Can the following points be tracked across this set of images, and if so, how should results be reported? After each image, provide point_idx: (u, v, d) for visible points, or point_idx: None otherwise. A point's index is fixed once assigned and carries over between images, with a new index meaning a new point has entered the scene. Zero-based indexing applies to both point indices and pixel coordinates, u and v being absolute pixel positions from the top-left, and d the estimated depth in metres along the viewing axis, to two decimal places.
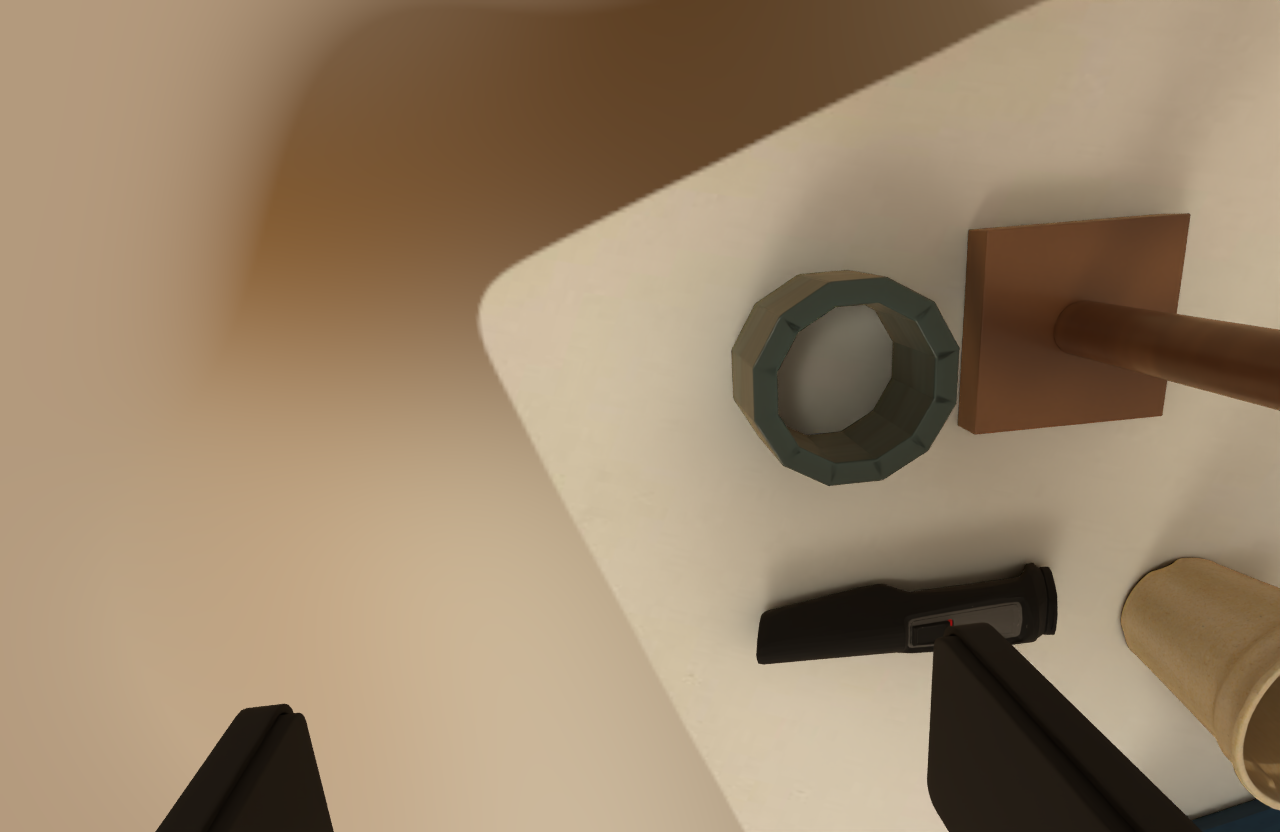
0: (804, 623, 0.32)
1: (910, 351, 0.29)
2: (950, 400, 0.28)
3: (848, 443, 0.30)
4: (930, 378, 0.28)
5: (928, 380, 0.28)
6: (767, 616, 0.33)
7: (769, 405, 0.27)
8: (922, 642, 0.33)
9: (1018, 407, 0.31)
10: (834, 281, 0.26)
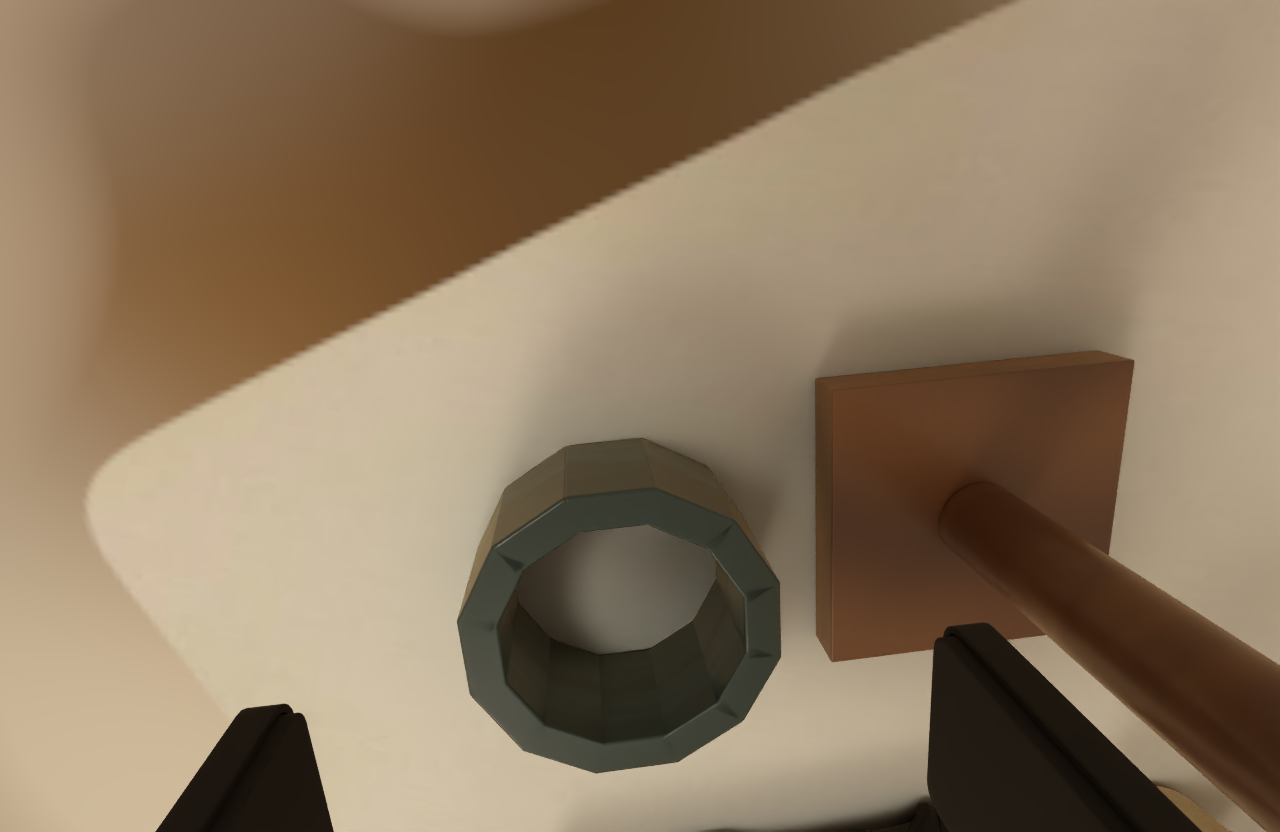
0: None
1: None
2: (772, 654, 0.19)
3: (645, 685, 0.21)
4: (741, 621, 0.19)
5: (740, 620, 0.19)
6: None
7: (490, 672, 0.18)
8: None
9: (892, 626, 0.22)
10: (573, 496, 0.17)
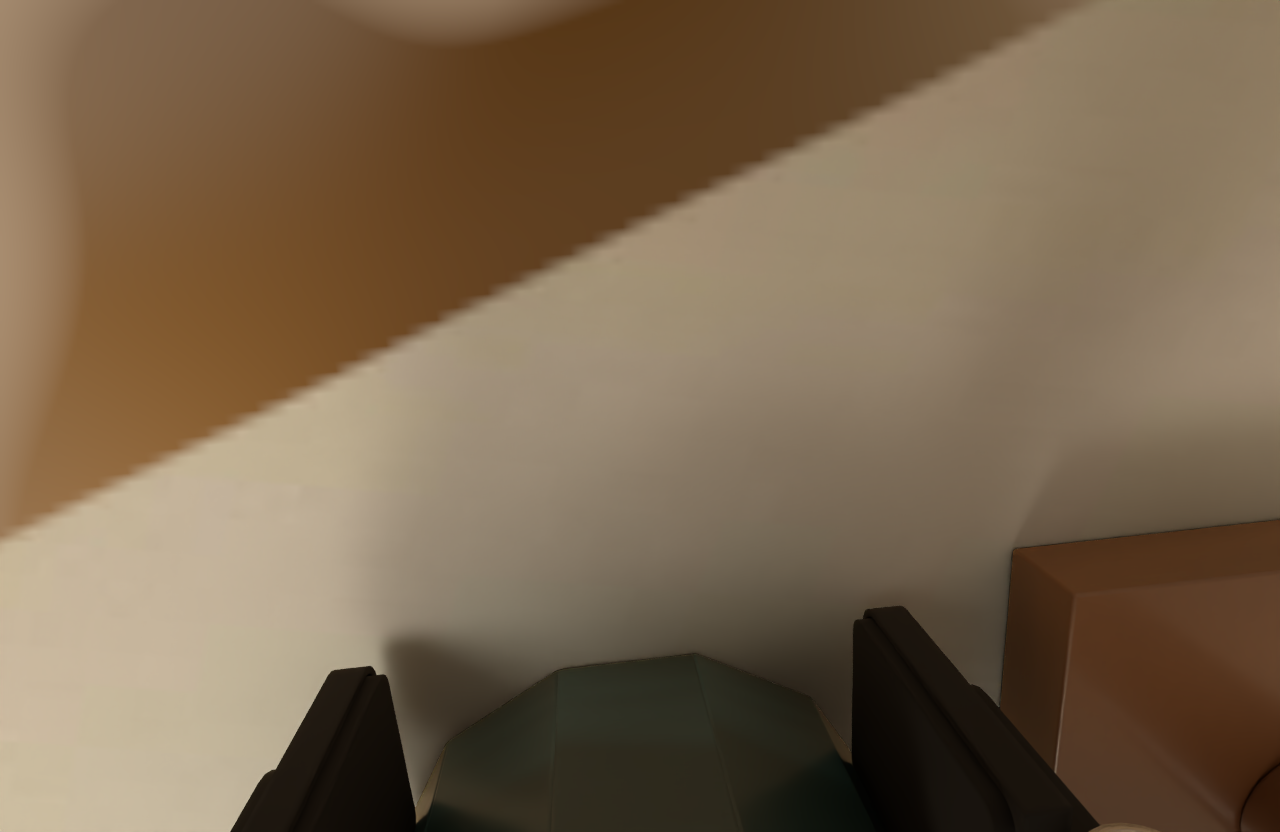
0: None
1: None
2: None
3: None
4: None
5: None
6: None
7: None
8: None
9: None
10: None
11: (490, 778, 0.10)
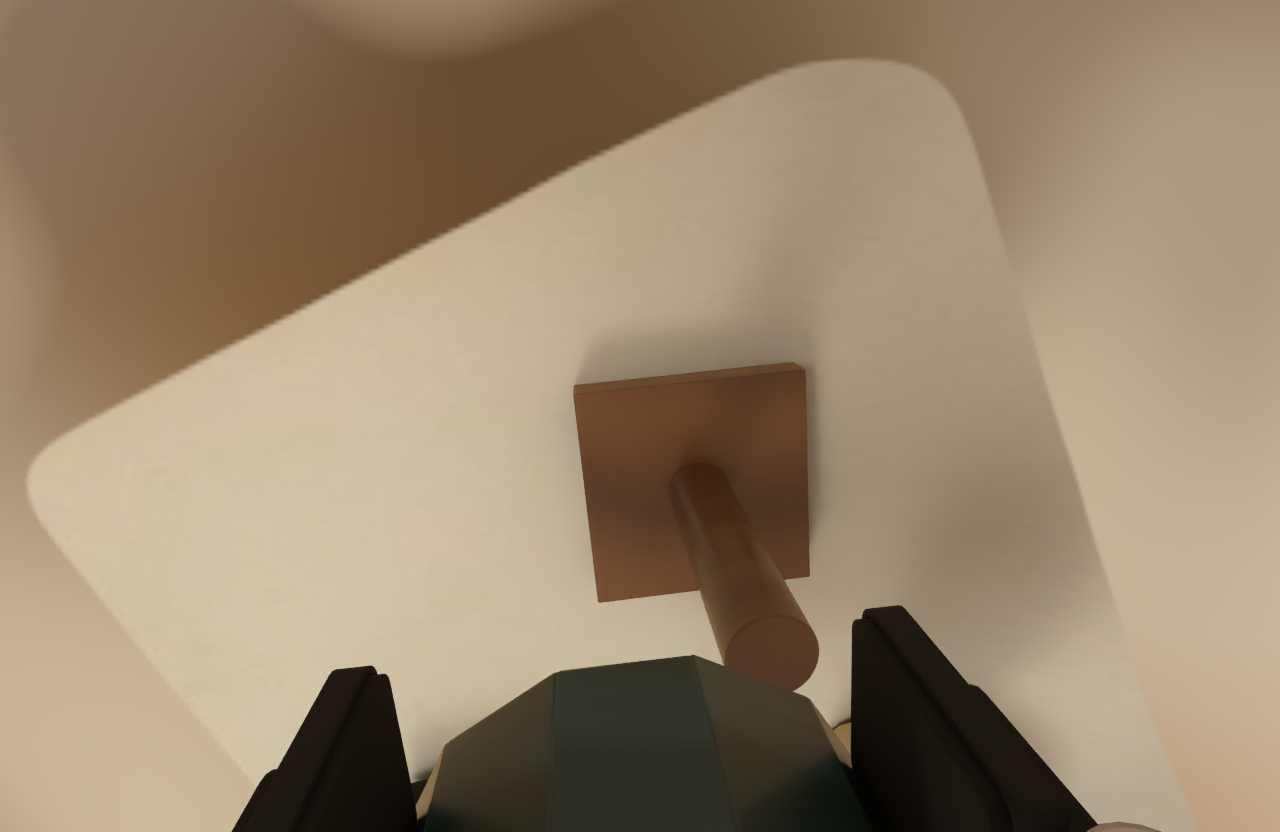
0: None
1: None
2: None
3: None
4: None
5: None
6: None
7: None
8: None
9: (643, 574, 0.28)
10: None
11: (488, 780, 0.10)
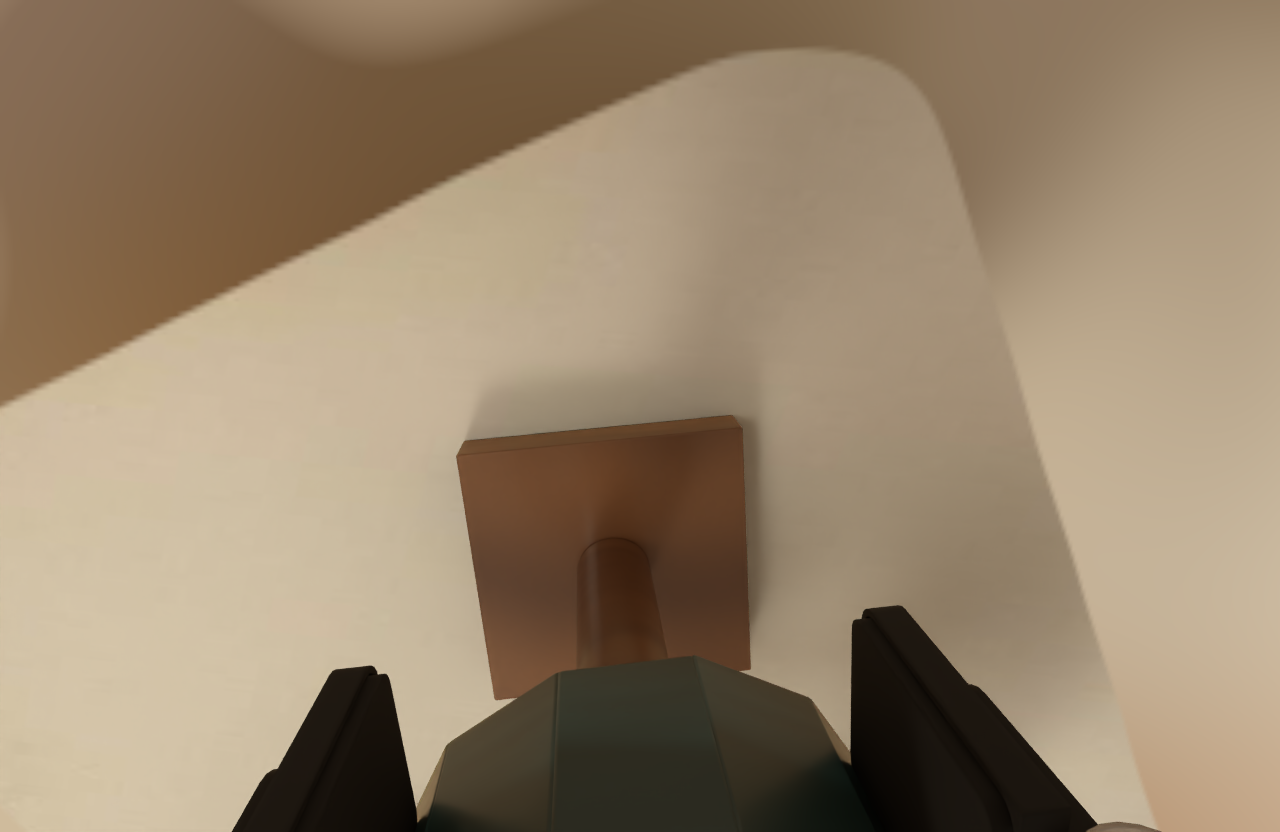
0: None
1: None
2: None
3: None
4: None
5: None
6: None
7: None
8: None
9: (548, 667, 0.24)
10: None
11: (490, 780, 0.10)
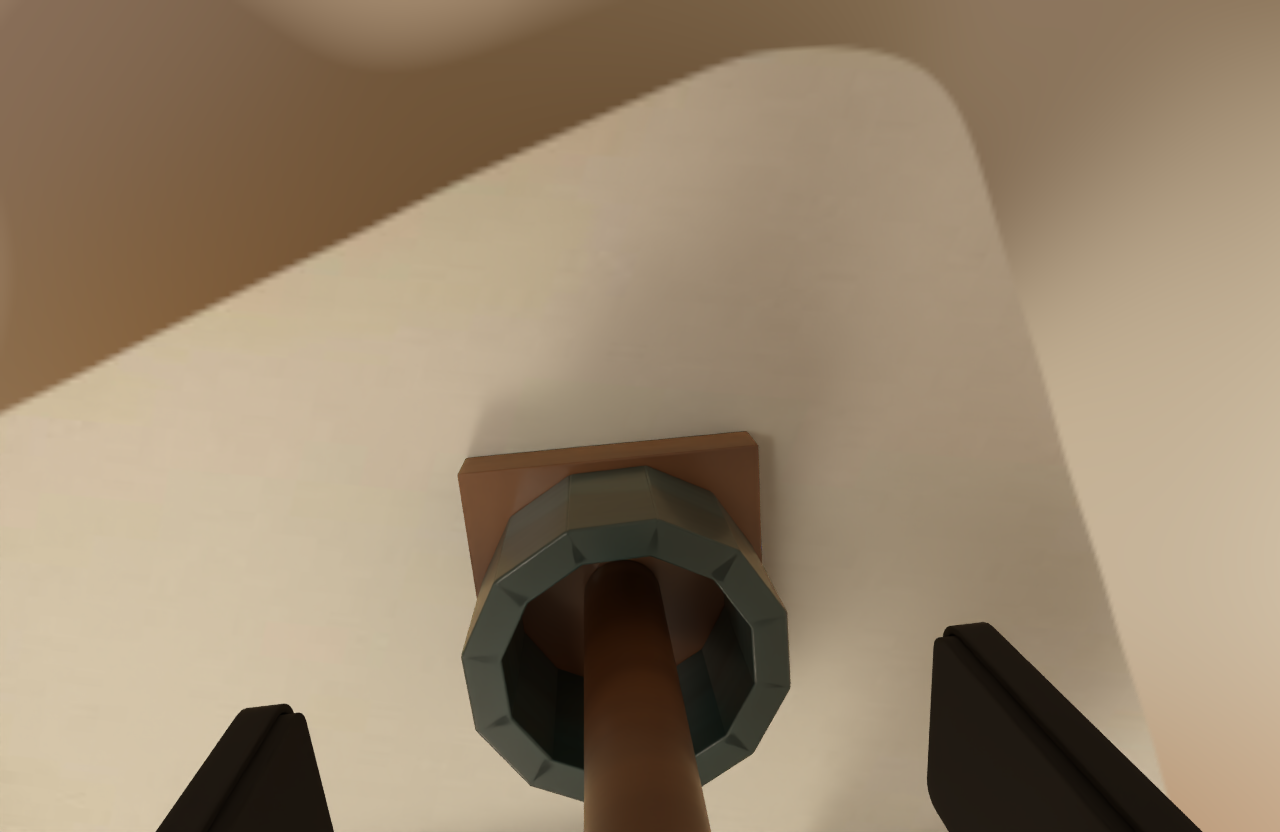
0: None
1: None
2: (781, 684, 0.18)
3: None
4: (749, 651, 0.18)
5: (748, 651, 0.19)
6: None
7: (495, 707, 0.18)
8: None
9: None
10: (576, 528, 0.17)
11: (536, 516, 0.19)
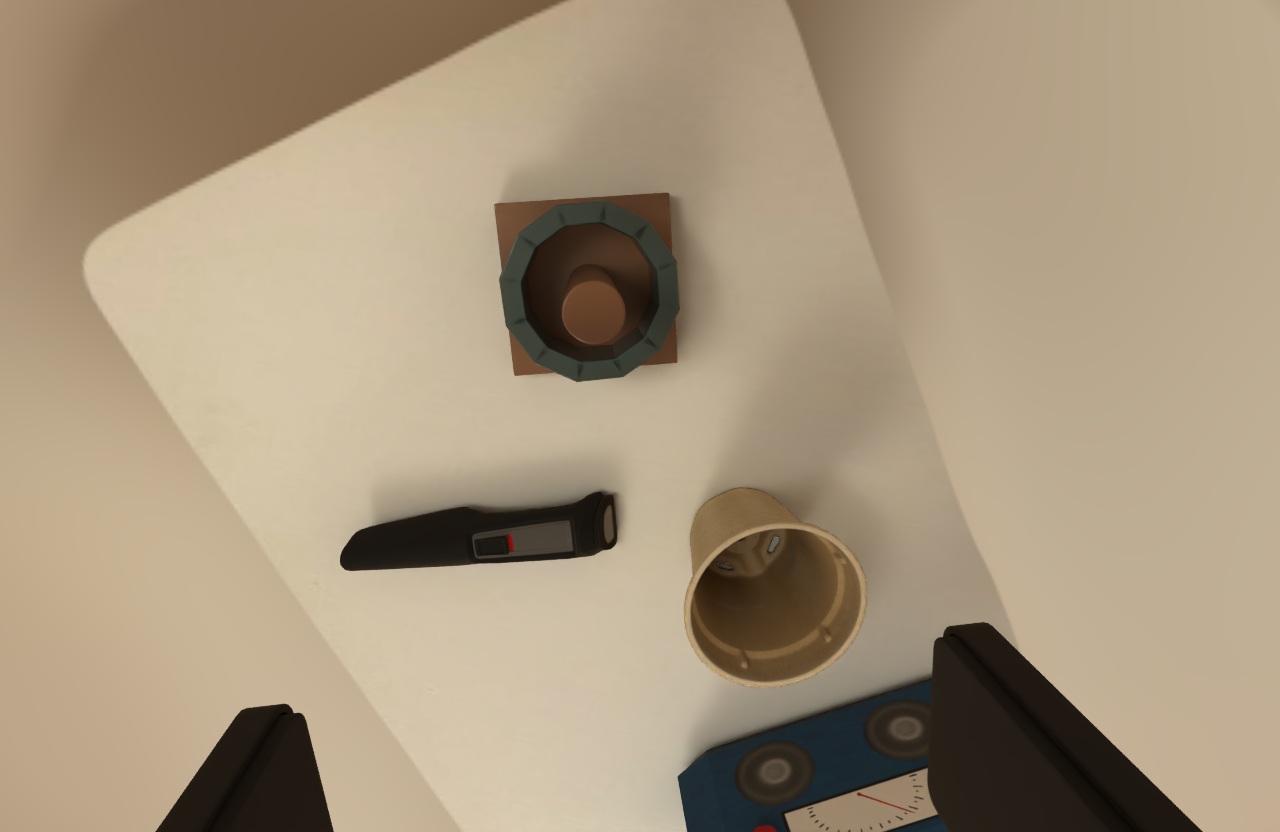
0: (385, 536, 0.39)
1: (651, 269, 0.35)
2: (674, 306, 0.33)
3: (607, 350, 0.36)
4: (656, 288, 0.33)
5: (657, 290, 0.33)
6: (359, 531, 0.39)
7: (517, 311, 0.33)
8: (485, 553, 0.39)
9: None
10: (561, 204, 0.32)
11: None
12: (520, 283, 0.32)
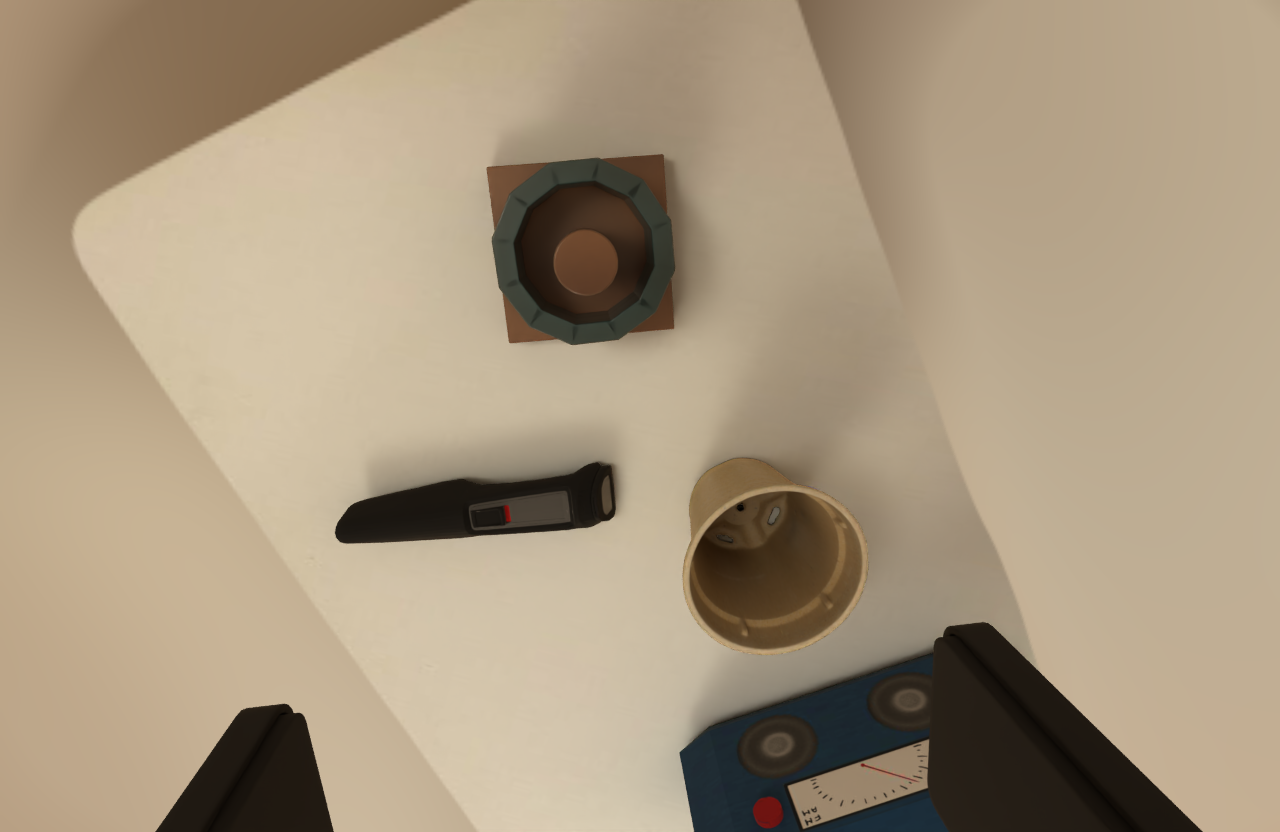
0: (381, 508, 0.38)
1: (646, 231, 0.34)
2: (669, 267, 0.33)
3: (602, 315, 0.35)
4: (651, 249, 0.33)
5: (652, 251, 0.33)
6: (355, 504, 0.39)
7: (510, 272, 0.32)
8: (482, 524, 0.39)
9: None
10: (554, 162, 0.31)
11: None
12: (513, 244, 0.32)
